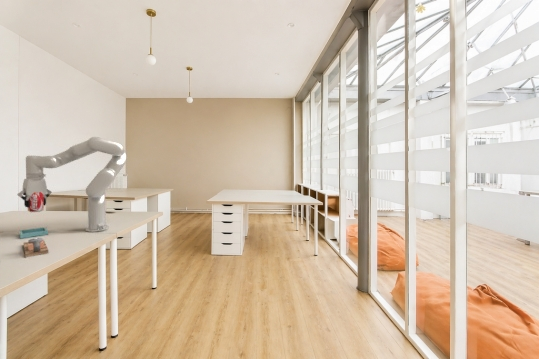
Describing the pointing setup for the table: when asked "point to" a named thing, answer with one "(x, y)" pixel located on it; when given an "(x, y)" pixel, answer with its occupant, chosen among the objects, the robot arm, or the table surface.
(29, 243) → the tensioner carriage
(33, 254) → the tensioner rail
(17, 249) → the table surface
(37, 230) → the tray
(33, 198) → the soda can
